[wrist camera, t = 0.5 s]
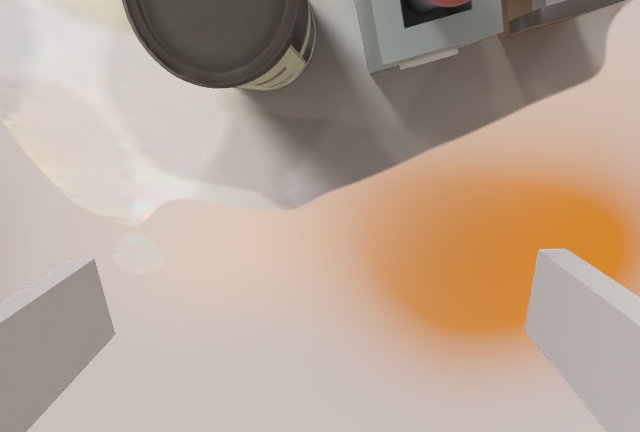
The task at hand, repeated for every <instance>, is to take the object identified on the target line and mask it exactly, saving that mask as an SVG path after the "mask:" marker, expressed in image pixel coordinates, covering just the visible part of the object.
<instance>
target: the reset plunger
mask: <svg viewBox="0 0 640 432" xmlns="http://www.w3.org/2000/svg"><path fill="white" fill-rule="evenodd" d="M468 1H470V0H405V3H406V5H407V7H408V8H409V9H410V10H411V11H412V12H414V13H416V14H419V15H427V14H430V13H433V12H434V11H436V10H437V9H438V8H440V7H454V6H459V5H462V4H464V3H466V2H468Z"/></svg>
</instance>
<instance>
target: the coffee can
mask: <svg viewBox="0 0 640 432" xmlns="http://www.w3.org/2000/svg"><path fill="white" fill-rule="evenodd" d="M122 2H123V6H124V9H125V12H126V15H127V18H128V20H129V22H130V25H131V27H132V29H133V31H134V33H135V34H136V36H137V38H138V40H139V41H140V43H141V44H142V45H143V47H144V48H145V49H146V51H147V52H148V53H149V54H150V55H151V56H152V57H153V59H154V60H155V61H156V62H158V63H159V64H160V65H161V66H162V67H163V68H165V69H166V70H167V71H168V72H170V73H171V74H173V75H175V76H176V77H178V78H180V79H182V80H184V81H186V82H189V83H192V84H195V85H198V86H202V87H207V88H231V87H232V88H243V89H252V90H257V91H271V90H276V89H279V88H282V87H284V86H286V85H288V84H289V83H291V82H292V81H294V80H295V79H296V78H297V77H298V76H299V75H300V74H301V73H302V72H303V71H304V69H305V68H306V67H307V65H308V63H309V61H310V59H311V56H312V54H313V50H314V46H315V40H316V25H315V18H314V14H313V11H312V8H311V5H310V3H309V1H308V0H122Z"/></svg>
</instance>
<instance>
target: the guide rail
mask: <svg viewBox="0 0 640 432" xmlns="http://www.w3.org/2000/svg"><path fill="white" fill-rule="evenodd" d="M621 1H624V0H501V5H502V16H503V28H504V31H503V32H501V33H499V38H502V37H505V36H509V35H513V34H516V33H520V32H523V31H527V30H531V29H534V28H538V27H542V26H545V25H549V24H552V23H556V22H560V21H563V20H567V19H570V18H573V17H576V16H579V15H582V14H585V13H588V12H591V11H594V10H597V9H600V8H603V7H606V6H609V5H612V4H615V3H618V2H621Z"/></svg>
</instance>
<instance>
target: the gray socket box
mask: <svg viewBox="0 0 640 432" xmlns="http://www.w3.org/2000/svg"><path fill="white" fill-rule="evenodd" d="M355 4H356V9H357V14H358V19H359V24H360V29H361V34H362V39H363V44H364V49H365V54H366V59H367V64H368V69H369V74H371V73H375V72H378V71H382V70H386V69H389V68H393V67H397V66H399V68H400V70H402V69H406V68H410V67H414V66H418V65H421V64H425V63H429V62H432V61H436V60H439V59H443V58H446V57H449V56H453V55H456V54H458V49H460V48H462V47H465V46H467V45H470V44H472V43H475V42H478V41H480V40H483V39H485V38H488V37H490V36H493V35H495V34H498V33H501V32H503V31H504V28H503V16H502V5H501V0H470V1H468V2H466V3H464V4H462V5H459V6H454V7H440V8H438V9H437V10H436V11H434V12H433V13H430V14H427V15H419V14H416V13H414V12H412V11H411V10H410V9H409V8H408V7H407V5H406V3H405V0H355Z"/></svg>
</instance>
